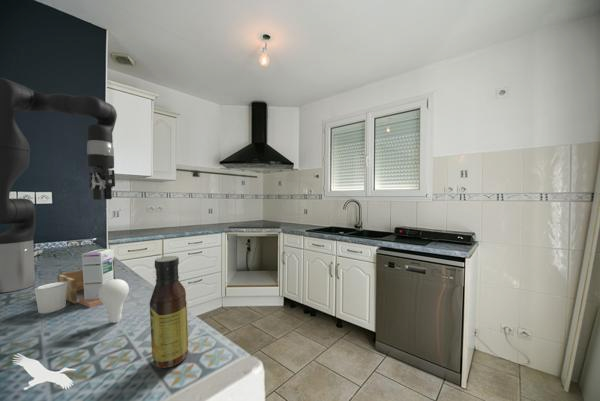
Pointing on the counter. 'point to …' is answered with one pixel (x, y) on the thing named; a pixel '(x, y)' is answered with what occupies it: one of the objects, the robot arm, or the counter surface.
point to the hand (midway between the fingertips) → (102, 199)
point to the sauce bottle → (168, 315)
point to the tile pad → (90, 302)
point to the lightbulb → (114, 298)
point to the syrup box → (97, 271)
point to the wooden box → (72, 284)
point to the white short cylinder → (51, 297)
